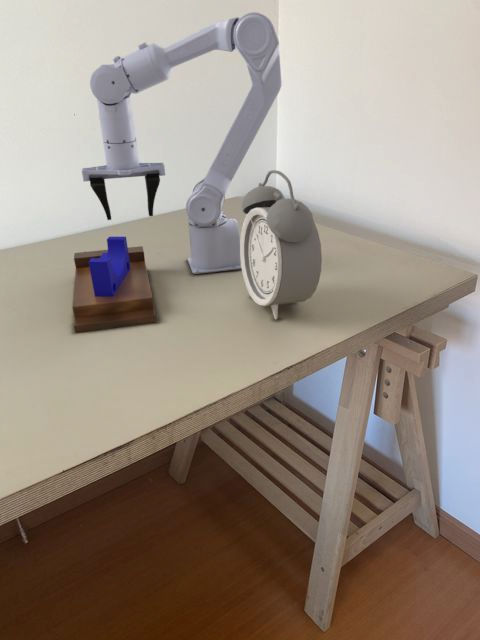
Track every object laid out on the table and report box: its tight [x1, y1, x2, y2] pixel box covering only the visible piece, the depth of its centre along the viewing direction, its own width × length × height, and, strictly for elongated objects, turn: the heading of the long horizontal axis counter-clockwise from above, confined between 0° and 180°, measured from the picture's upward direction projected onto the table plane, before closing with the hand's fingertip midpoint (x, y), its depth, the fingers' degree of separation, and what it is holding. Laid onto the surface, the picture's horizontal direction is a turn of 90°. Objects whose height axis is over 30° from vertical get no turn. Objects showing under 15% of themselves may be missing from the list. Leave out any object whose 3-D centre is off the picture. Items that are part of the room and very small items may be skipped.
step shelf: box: [72, 245, 157, 333], centre depth 97 cm, size 12×23×5 cm, turn 14°
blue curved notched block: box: [89, 236, 131, 297], centre depth 95 cm, size 12×4×6 cm, turn 178°
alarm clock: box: [240, 169, 323, 320], centre depth 89 cm, size 16×9×22 cm, turn 23°
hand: (130, 216), depth 106 cm, fingers open, 7 cm apart
